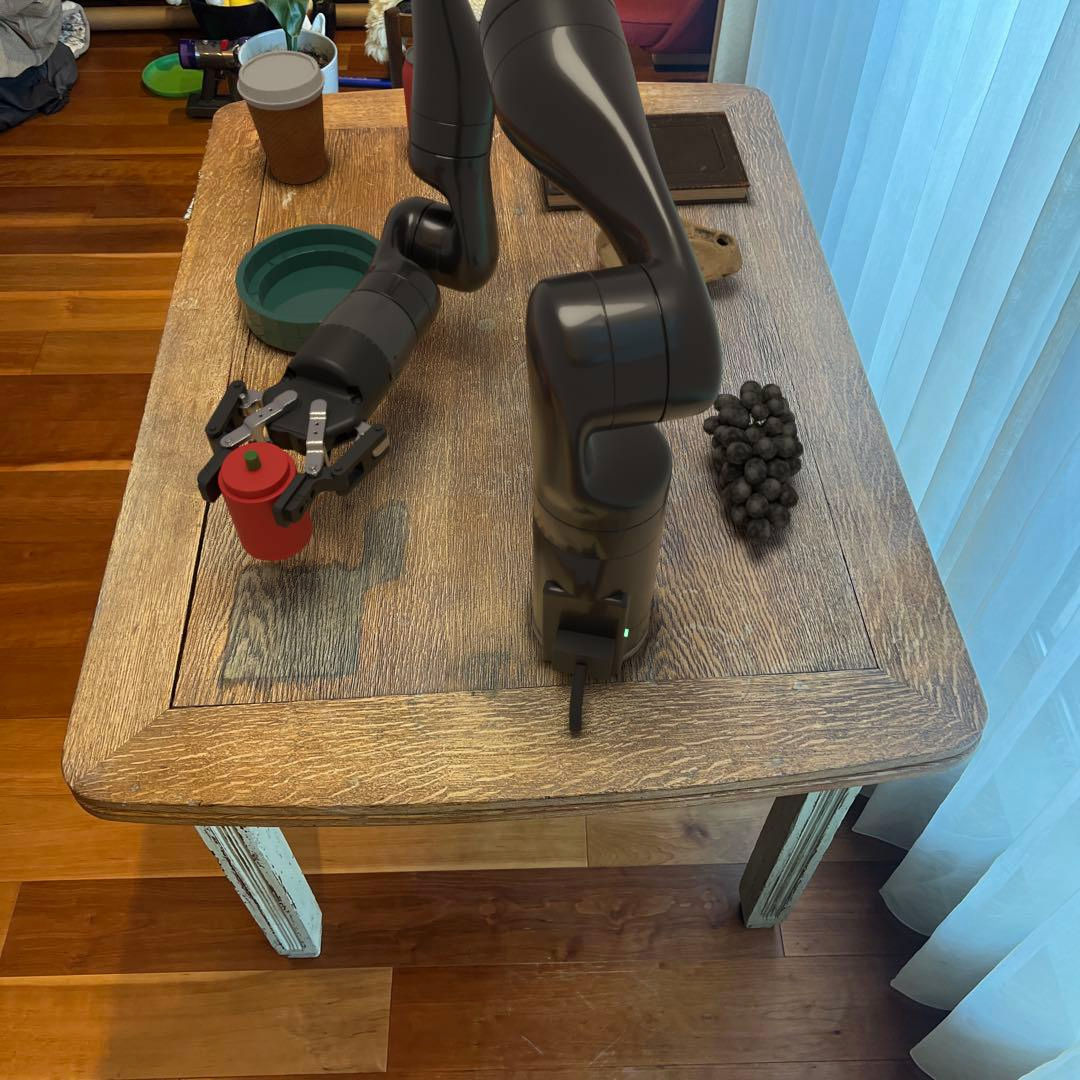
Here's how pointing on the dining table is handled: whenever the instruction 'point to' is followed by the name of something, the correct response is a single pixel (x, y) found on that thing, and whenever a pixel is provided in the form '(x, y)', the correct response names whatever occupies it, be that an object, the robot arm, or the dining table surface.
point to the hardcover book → (687, 161)
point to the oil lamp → (708, 245)
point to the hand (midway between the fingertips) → (241, 506)
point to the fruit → (756, 457)
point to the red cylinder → (262, 500)
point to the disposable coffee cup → (287, 112)
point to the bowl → (300, 280)
